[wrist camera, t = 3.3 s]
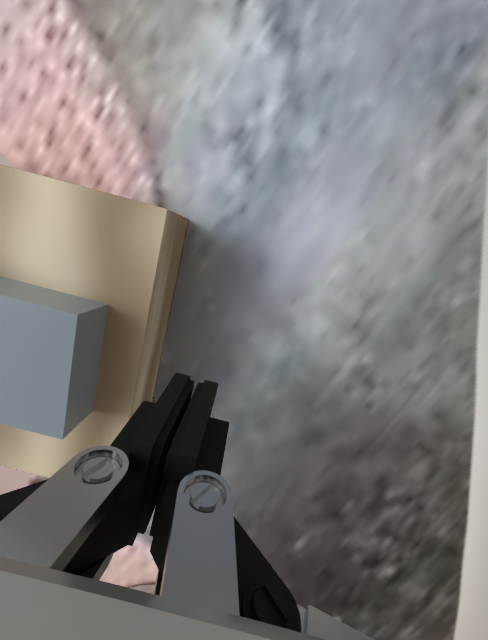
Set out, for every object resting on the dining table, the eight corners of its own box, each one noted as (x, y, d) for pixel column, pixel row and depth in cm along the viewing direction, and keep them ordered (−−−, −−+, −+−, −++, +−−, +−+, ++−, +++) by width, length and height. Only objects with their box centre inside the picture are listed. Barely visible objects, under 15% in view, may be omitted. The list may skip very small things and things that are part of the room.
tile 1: (108, 304, 14) (77, 314, 12) (92, 411, 15) (62, 439, 13) (-13, 272, 14) (-68, 276, 11) (-18, 382, 15) (-68, 406, 13)
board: (188, 219, 17) (167, 209, 13) (142, 448, 20) (115, 494, 16) (-81, 147, 16) (-187, 114, 13) (-78, 391, 20) (-158, 425, 16)
